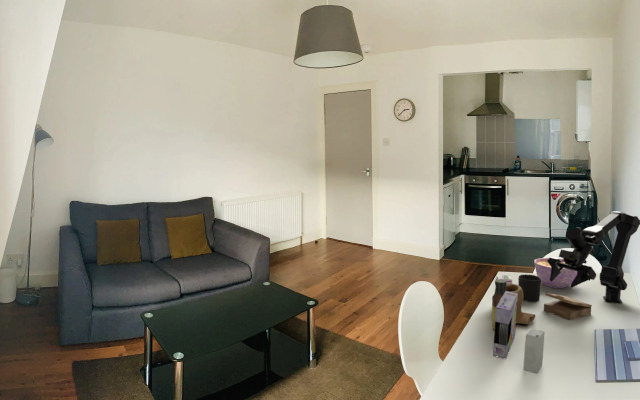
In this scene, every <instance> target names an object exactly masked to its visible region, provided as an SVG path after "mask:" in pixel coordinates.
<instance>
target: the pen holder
mask: <svg viewBox="0 0 640 400" xmlns="http://www.w3.org/2000/svg"><path fill="white" fill-rule="evenodd" d="M517 285H519V286H520V287H521V288H522V290H523V302H524V301H525V302H531V303H533V302H539V301H540V298H541V297H540V296H541V288H542V287H541V286H542V282H541V279H540V278H539V277H538V276H537V275H534V274H520V275H518V284H517Z"/></svg>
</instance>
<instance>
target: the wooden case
mask: <svg viewBox="0 0 640 400" xmlns="http://www.w3.org/2000/svg"><path fill="white" fill-rule="evenodd" d="M543 311H544V312H547V313H550V314H552V315H555V316H558V317H560V318H562V319H566V320H569V321H572V320H575V319H580V318H584V317H587V316H591V315H592V307H586V306H580V305H574V304H570V303H567V302H564V301H561V300H558V299H556V300H553V301H548V302H545V303H543Z"/></svg>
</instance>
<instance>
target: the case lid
mask: <svg viewBox="0 0 640 400" xmlns="http://www.w3.org/2000/svg"><path fill="white" fill-rule="evenodd" d="M545 296H546V297H550V298H553V299H556V300H561V301H564V302H567V303H570V304H574V305H580V306H586V307H591V308H592V306H593V305H592V304H590V303H587V302H584V301H580V300H579V299H574V298H572V297H568V296H565V295H560V294H554V293H549V292H545Z"/></svg>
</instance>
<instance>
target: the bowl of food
mask: <svg viewBox="0 0 640 400" xmlns="http://www.w3.org/2000/svg"><path fill="white" fill-rule="evenodd" d="M549 258H550V257H542V258H540V257H539V258H536V259H534V260H533V262H534V268H535V272H536V276H538V277H539V278H540V279H541V283H543V284H544V285H545V286H547V287H550V288H553V289H564V288H565V287H569V286H570V285H571V283H572V282H573V280H574V279H575V277H576V275H577V271H573V270H570V269H566V268H563V269H562V270H560V271H561V272H560V274H559V275H558V276H557V277H556V278H555V279H554V280H553V281H552V282H551V281H550V276H551V266H550V265H549V263H548V262H547V260H548V259H549ZM558 259H559V260H560V261H561V262H562V263H565V262H564V261H563V258H558Z"/></svg>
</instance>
